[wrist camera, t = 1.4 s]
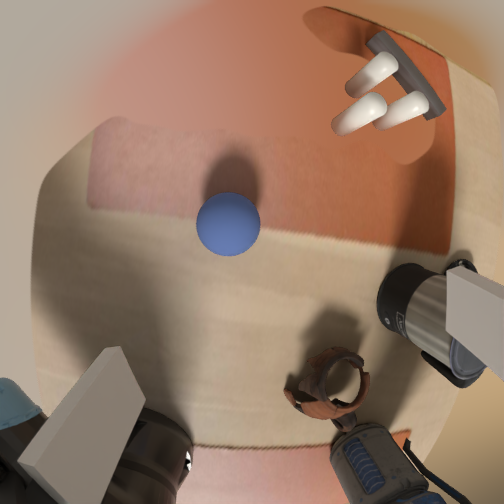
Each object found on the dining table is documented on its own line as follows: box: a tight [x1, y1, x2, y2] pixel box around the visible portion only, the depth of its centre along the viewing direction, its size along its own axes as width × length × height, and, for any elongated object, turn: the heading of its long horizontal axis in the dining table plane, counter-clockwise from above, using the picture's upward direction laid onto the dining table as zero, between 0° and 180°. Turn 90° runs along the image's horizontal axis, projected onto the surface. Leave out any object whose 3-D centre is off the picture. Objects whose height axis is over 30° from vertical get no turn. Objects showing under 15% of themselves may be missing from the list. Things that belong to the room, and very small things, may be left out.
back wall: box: [365, 30, 446, 120], centre depth 29 cm, size 2×13×3 cm, turn 41°
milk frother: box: [377, 259, 487, 388], centre depth 28 cm, size 14×16×15 cm
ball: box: [196, 192, 260, 256], centre depth 28 cm, size 6×6×6 cm
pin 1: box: [345, 52, 398, 98], centre depth 26 cm, size 2×2×8 cm
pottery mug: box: [284, 347, 370, 432], centre depth 33 cm, size 12×10×8 cm
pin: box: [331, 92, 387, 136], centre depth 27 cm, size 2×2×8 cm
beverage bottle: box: [330, 424, 472, 504], centre depth 25 cm, size 10×13×25 cm
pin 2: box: [372, 91, 429, 131], centre depth 27 cm, size 2×2×8 cm
